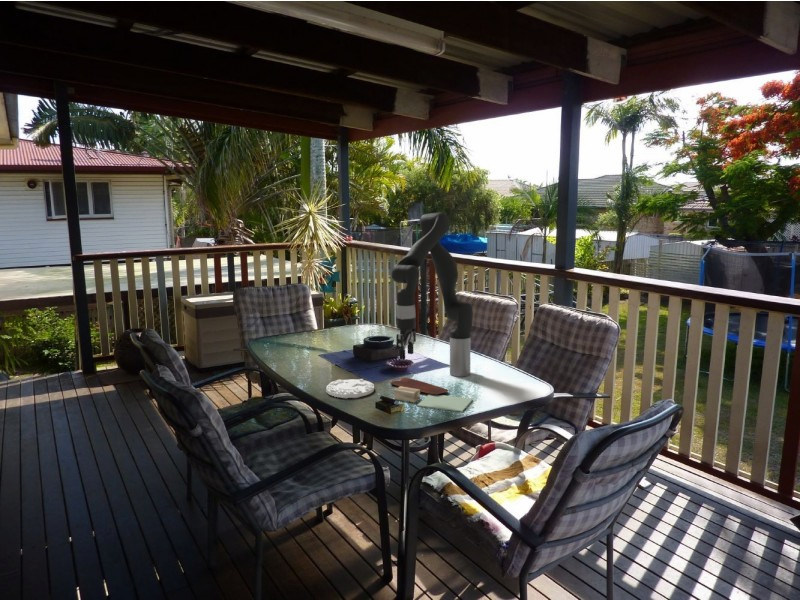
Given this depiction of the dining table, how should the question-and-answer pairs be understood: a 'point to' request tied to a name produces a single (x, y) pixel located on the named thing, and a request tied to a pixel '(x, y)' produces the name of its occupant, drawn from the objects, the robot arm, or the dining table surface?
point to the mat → (445, 402)
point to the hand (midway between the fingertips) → (406, 356)
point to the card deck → (406, 394)
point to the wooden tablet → (419, 386)
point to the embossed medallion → (350, 388)
